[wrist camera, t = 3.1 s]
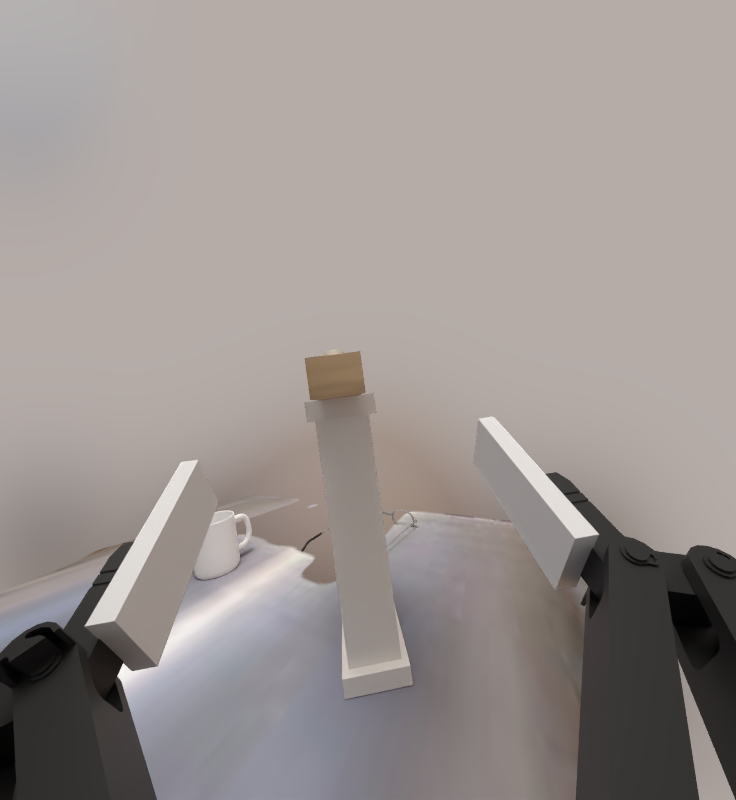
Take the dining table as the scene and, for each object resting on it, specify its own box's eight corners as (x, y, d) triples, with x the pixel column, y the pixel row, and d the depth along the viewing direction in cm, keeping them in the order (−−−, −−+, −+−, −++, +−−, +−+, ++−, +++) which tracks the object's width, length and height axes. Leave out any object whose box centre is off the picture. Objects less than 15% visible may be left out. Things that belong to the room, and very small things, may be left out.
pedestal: (344, 603, 46) (316, 402, 46) (390, 594, 47) (363, 396, 47) (344, 699, 31) (304, 402, 31) (413, 685, 32) (373, 393, 32)
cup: (187, 574, 62) (181, 523, 62) (244, 546, 71) (238, 502, 71) (206, 585, 57) (198, 530, 57) (264, 554, 66) (258, 506, 66)
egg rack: (327, 401, 46) (321, 362, 46) (353, 397, 47) (348, 359, 47) (310, 399, 22) (299, 319, 22) (365, 392, 23) (354, 313, 23)
